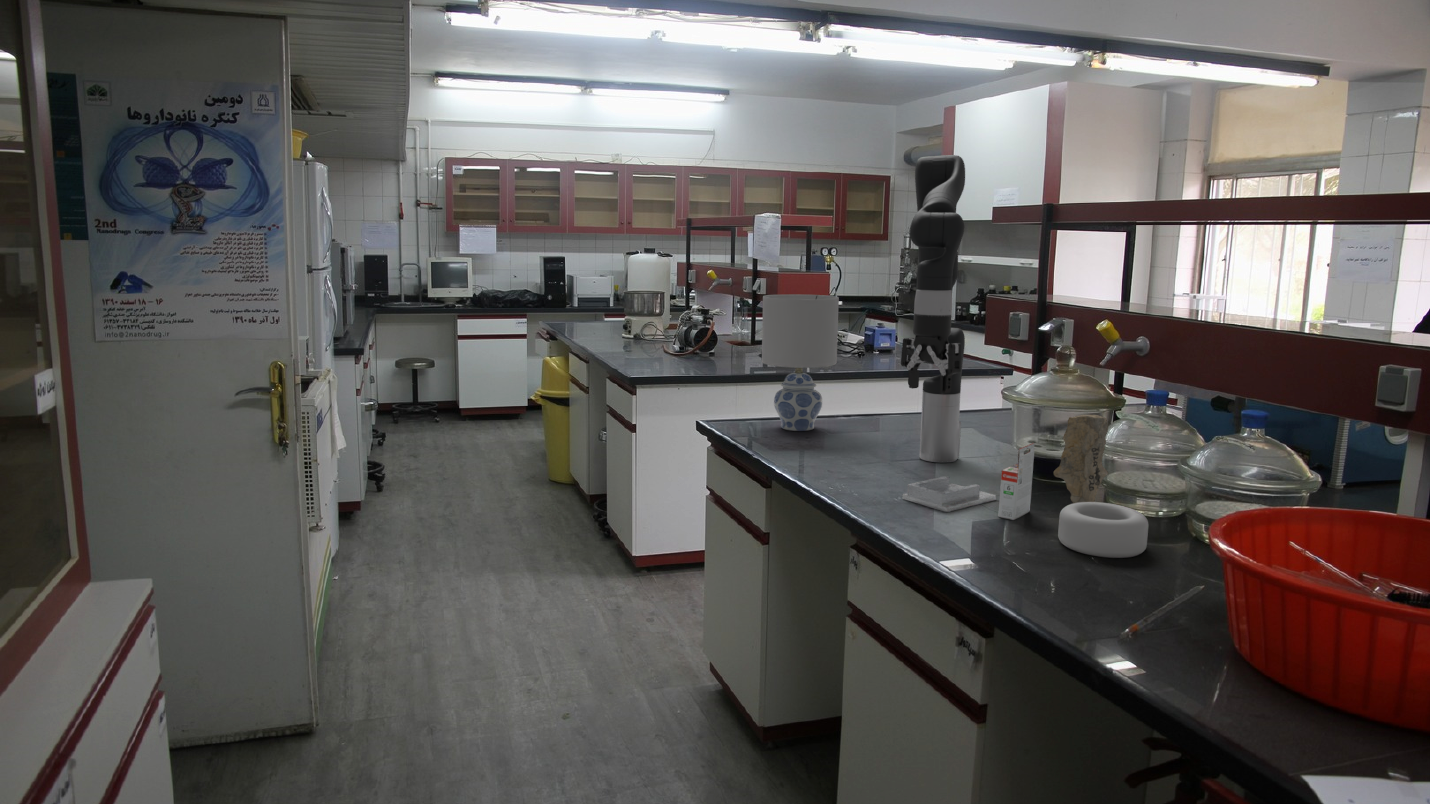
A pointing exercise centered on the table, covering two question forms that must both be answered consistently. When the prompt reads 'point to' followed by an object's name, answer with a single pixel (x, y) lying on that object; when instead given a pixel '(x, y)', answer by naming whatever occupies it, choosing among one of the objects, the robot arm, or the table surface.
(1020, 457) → the ink box
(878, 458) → the table surface
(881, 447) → the table surface
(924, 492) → the bracket
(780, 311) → the lamp
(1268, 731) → the table surface
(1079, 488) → the stone tool
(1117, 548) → the thick torus
